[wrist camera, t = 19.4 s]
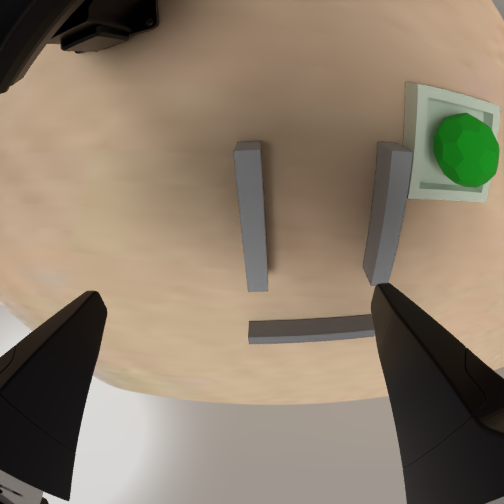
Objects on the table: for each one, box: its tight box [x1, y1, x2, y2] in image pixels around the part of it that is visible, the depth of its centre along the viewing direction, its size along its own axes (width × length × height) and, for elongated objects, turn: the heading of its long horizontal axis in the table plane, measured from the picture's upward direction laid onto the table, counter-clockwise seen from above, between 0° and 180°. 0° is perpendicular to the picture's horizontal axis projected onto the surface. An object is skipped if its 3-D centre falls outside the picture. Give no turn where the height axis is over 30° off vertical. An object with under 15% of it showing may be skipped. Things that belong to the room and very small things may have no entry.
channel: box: [234, 141, 413, 344], centre depth 21 cm, size 18×12×2 cm
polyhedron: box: [433, 113, 499, 187], centre depth 14 cm, size 5×5×5 cm
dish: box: [403, 82, 500, 202], centre depth 16 cm, size 8×8×2 cm
